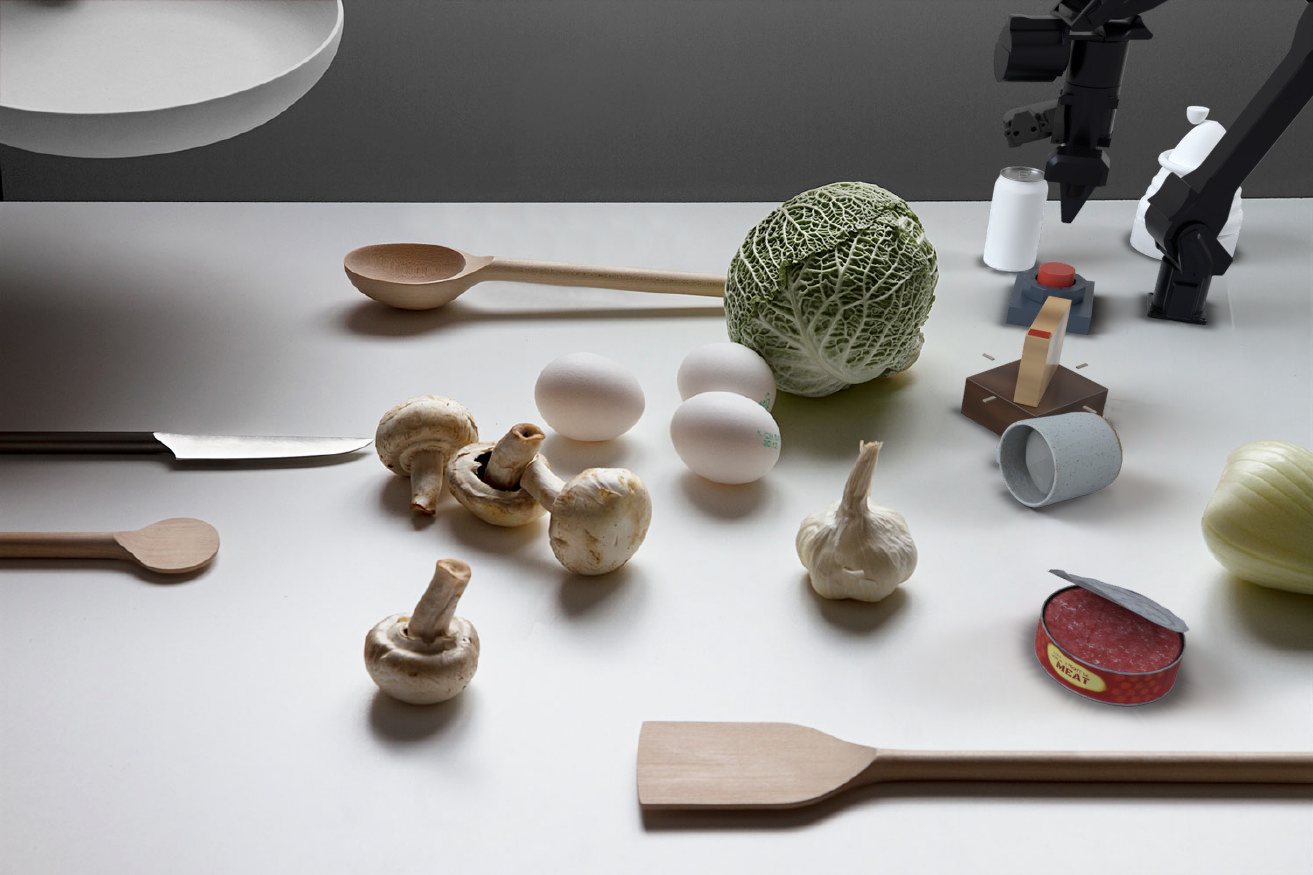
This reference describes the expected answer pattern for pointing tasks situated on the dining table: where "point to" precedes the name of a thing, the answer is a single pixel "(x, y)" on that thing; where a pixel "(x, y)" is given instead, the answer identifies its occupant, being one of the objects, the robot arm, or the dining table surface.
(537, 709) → the dining table surface
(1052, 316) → the tan wooden flat block
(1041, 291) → the button block
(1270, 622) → the dining table surface
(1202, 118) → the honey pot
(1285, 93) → the robot arm
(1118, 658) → the canned food
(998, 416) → the wooden block
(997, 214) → the can
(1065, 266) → the button
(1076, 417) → the ceramic mug
